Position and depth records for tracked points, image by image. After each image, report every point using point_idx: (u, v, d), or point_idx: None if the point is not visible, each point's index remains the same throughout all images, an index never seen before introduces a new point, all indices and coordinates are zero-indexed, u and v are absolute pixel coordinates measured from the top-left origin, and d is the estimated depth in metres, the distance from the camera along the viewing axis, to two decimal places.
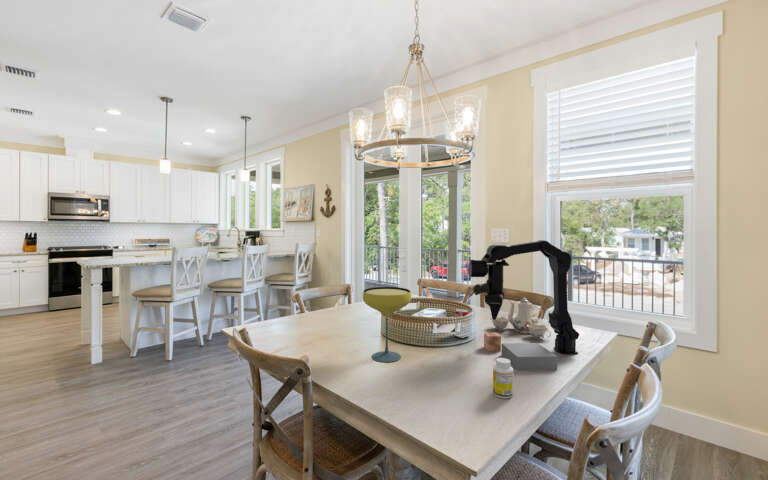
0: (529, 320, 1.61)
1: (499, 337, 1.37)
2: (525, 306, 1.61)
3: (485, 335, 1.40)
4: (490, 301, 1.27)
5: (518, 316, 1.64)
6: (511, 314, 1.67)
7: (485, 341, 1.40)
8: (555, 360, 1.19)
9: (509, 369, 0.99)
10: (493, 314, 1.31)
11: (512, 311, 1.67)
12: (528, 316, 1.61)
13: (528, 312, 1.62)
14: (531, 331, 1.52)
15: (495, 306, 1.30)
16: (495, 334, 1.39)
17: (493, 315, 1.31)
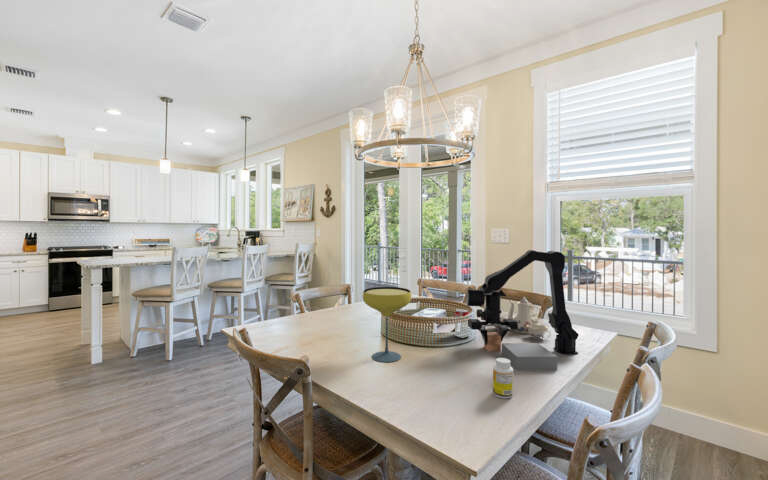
0: (529, 320, 1.61)
1: (499, 337, 1.37)
2: (525, 306, 1.61)
3: None
4: (468, 325, 1.40)
5: (518, 316, 1.63)
6: (511, 314, 1.67)
7: None
8: (555, 360, 1.19)
9: (509, 369, 0.99)
10: (484, 339, 1.39)
11: (512, 311, 1.67)
12: (528, 316, 1.61)
13: (528, 312, 1.62)
14: (531, 331, 1.52)
15: None
16: (495, 334, 1.39)
17: None
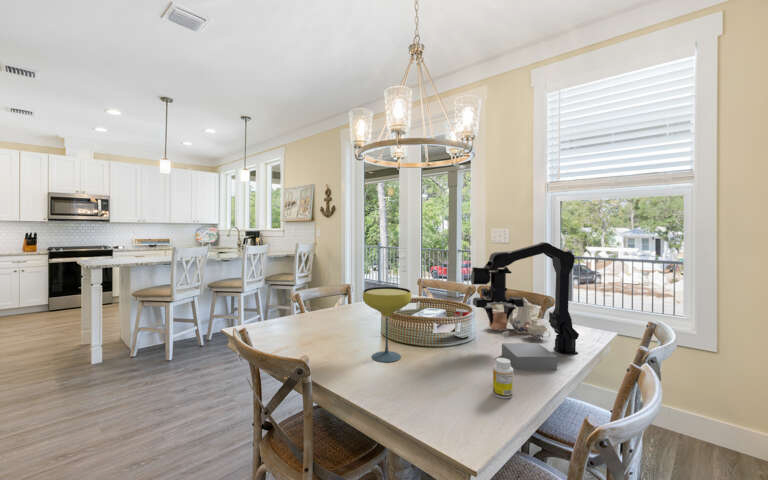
0: (529, 320, 1.61)
1: (505, 315, 1.35)
2: (525, 306, 1.61)
3: None
4: (473, 304, 1.38)
5: (518, 316, 1.63)
6: (511, 314, 1.67)
7: None
8: (555, 360, 1.19)
9: (509, 369, 0.99)
10: (489, 318, 1.37)
11: (512, 311, 1.67)
12: (528, 316, 1.61)
13: (528, 312, 1.61)
14: (530, 331, 1.52)
15: None
16: (501, 312, 1.37)
17: (489, 319, 1.37)
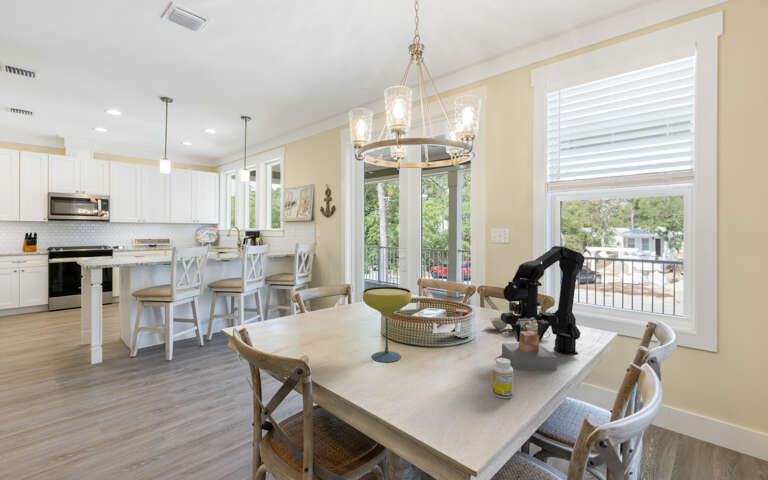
0: None
1: (537, 336, 1.23)
2: None
3: (520, 334, 1.26)
4: (502, 319, 1.26)
5: None
6: None
7: (521, 341, 1.26)
8: (555, 360, 1.19)
9: (509, 369, 0.99)
10: (516, 335, 1.26)
11: (511, 311, 1.67)
12: None
13: None
14: None
15: None
16: (532, 333, 1.25)
17: (515, 336, 1.26)
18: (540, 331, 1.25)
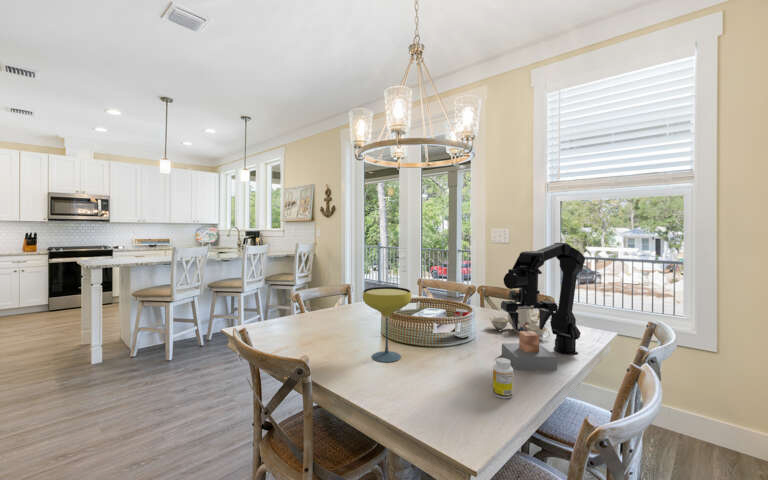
0: (528, 320, 1.60)
1: (537, 336, 1.23)
2: None
3: (521, 334, 1.26)
4: (502, 307, 1.26)
5: None
6: None
7: (521, 341, 1.26)
8: (554, 360, 1.19)
9: (509, 369, 0.99)
10: (514, 323, 1.25)
11: None
12: (527, 316, 1.61)
13: (527, 312, 1.61)
14: None
15: None
16: (532, 333, 1.25)
17: (513, 324, 1.25)
18: (542, 319, 1.25)
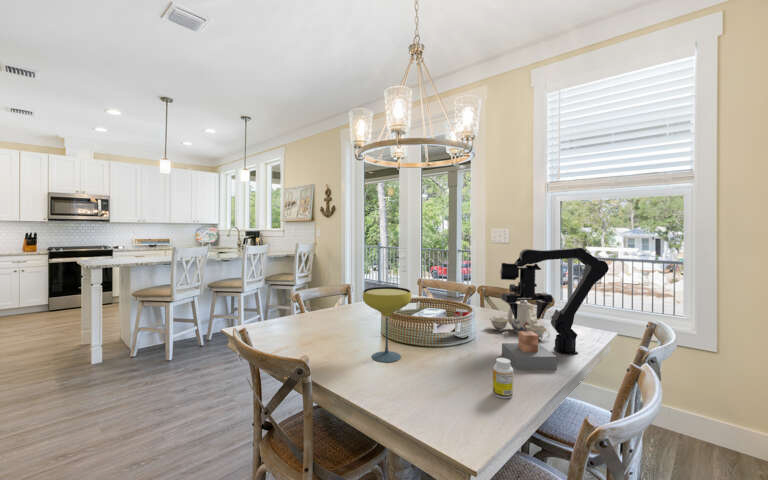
0: (528, 321, 1.60)
1: (536, 336, 1.23)
2: (524, 306, 1.61)
3: (520, 334, 1.27)
4: (503, 299, 1.40)
5: (517, 316, 1.63)
6: (510, 314, 1.67)
7: (520, 341, 1.26)
8: (554, 360, 1.19)
9: (509, 369, 0.99)
10: (513, 313, 1.40)
11: (511, 311, 1.67)
12: (527, 316, 1.61)
13: (527, 312, 1.61)
14: None
15: (513, 306, 1.39)
16: (531, 333, 1.25)
17: (513, 314, 1.40)
18: (539, 309, 1.39)
